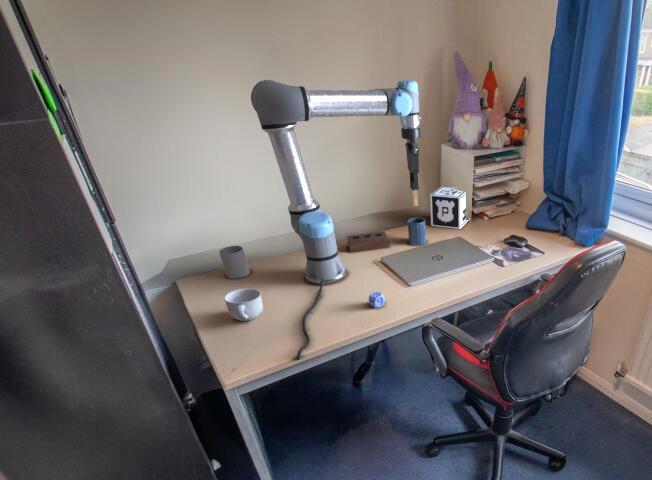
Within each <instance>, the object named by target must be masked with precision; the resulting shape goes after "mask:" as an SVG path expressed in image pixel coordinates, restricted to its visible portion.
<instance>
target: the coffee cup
mask: <svg viewBox="0 0 652 480" xmlns="http://www.w3.org/2000/svg"><path fill="white" fill-rule="evenodd" d="M406 221H407V222H406V223H407V234H408V236H407V237H408V244H409V245H411V246H424V245H426V244H427V225H426V219H425V218H423V217H411V218H408V219H407V220H406Z"/></svg>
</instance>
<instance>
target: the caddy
mask: <svg viewBox="0 0 652 480" xmlns="http://www.w3.org/2000/svg"><path fill="white" fill-rule="evenodd" d="M346 238H347V239H346V240H347V244H348V245H347V246H348V249H349V252H350V253H357V252H365V251H371V250H379V249H386V248H389V241H388V240H389V239H388V235H387V233H386V232H385V230H384V231H376V232H375V231H374V232H367V233H359V234H352V235H351V234H350V235H346Z"/></svg>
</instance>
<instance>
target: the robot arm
mask: <svg viewBox="0 0 652 480" xmlns="http://www.w3.org/2000/svg"><path fill="white" fill-rule="evenodd" d="M418 85H419V84H418V82H417V81H416V80H399V81H397V86H396V87H390V88H386V87H385V88H374V89H368V90H346V89H345V90H344V89H343V90H336V89H334V90H333V89H329V90H326V89H323V90H322V89H307V88H306V87H305V86H303V85H302V86H300V85H299V86H298V85H290V84H286V83H282V82H279V81H275V80H272V79H263V80H260V81H259V82H257V83H256V84H255V85H254V86H253V87H252V90H251V93H250V102H251V105H252V108H253V109H254V111H255V112H256V115H257V118H258V121H259V124H260V127H261V130H262V131H263V132H265V133H267V134H268V137H269V140H270V144H271V146H272V150H273V152H274V156H275V159H276V162H277V165H278V168H279V171H280V175H281V178H282V181H283V184H284V188H285V190H286V194H287V196H288V197H287V198H288V200H289V205H288V207H287V210H288V214H289V218H290V226H291V227H292V229H293V231H294V232H295V233H296V234H297V236H298V237H299V238H300V240H301V241H302V245H303V248H304V249H303V250H304V253H305V258H306V262H305V263H306V264H305V271H304V276H305V280H306V282H308V283H309V284H313V285H319V290H318V294H317V296H316V299H315V300H314V302H313V304H312V305H311V307H309V308H308V309H307V311H306V312H305V313H304V315H303V317H302V331H303V334H304V336H305V338H306V342H305V344H304V345H302V346H301V347H300V348H299V349H298V351H297V354H296V360H297V361H300V360H301V356H302V353H303V352H304V350H306V349H307V348H308V347H309V345H310V344H311V338H310V335H309V333H308V331H307V319H308V316H309V314H310V313H311V312H312V311H313V310H314V309H315V308H316V306H317V305H318V303H319V300H320V299H321V296H322V292H323V287H324V285H331V284H334V283H337V282H339V281H341V280H343V279H344V278H345V277H347V269H346V267H345V265H344V262H343V261H342V259H341V257H340V256H339V252H338V245H337V240H336V234H335V233H336V232H335V226H334V222H333V219H332V216H330V215H329V213H326V212H322V208H321V206H320V205H321V204H320V201H319V200H317V199H315V198H314V196H313V192H312V189H311V184H310V181H309V178H308V173H307V171H306V167H305V163H304V160H303V156H302V152H301V150H300V146H299V143H298V142H299V141H298V139H297V135H296V132H295V129H296V127H297V125H298V123H299V122H309V121H310V120H311V119H312V118H342V117H343V118H344V117H345V118H346V117H348V118H349V117H381V116H382V117H384V116H385V117H390V116H391V117H393V116H395V117H396V116H397V117H399V121H400V127H401V128H400V134H401V135H400V136H401V138H402V139H403V140H406V142H405V144H404V146H405V151H406V162H407V169H408V172H409V185H410V189H411V191H412V190H417V191H419V189H420V188H419V173H420V169H419V168H420V159H419V155H420V153H419V152H420V148H419V145H418V143H417V139H420V138H421V135H422V134H421V133H422V132H421V127H420V126H421V121H420V120H422V117H421V116H420V101H419V100H420V98H419V97H420V94H419V86H418Z"/></svg>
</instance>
